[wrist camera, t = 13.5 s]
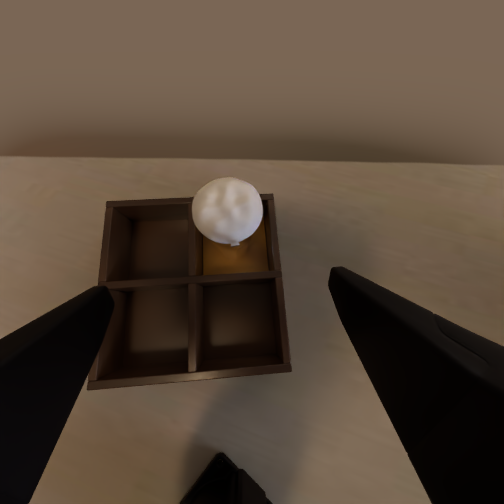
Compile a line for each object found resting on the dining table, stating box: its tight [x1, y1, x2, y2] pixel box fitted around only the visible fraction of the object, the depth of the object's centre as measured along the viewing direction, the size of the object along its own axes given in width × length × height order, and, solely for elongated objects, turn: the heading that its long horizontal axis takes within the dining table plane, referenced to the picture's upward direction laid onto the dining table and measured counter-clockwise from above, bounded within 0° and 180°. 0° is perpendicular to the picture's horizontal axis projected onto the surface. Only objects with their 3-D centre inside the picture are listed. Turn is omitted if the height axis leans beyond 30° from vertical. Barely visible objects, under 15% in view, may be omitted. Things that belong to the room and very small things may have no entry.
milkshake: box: [192, 177, 263, 259], centre depth 16 cm, size 4×5×10 cm
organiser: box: [87, 194, 292, 390], centre depth 19 cm, size 15×15×4 cm
